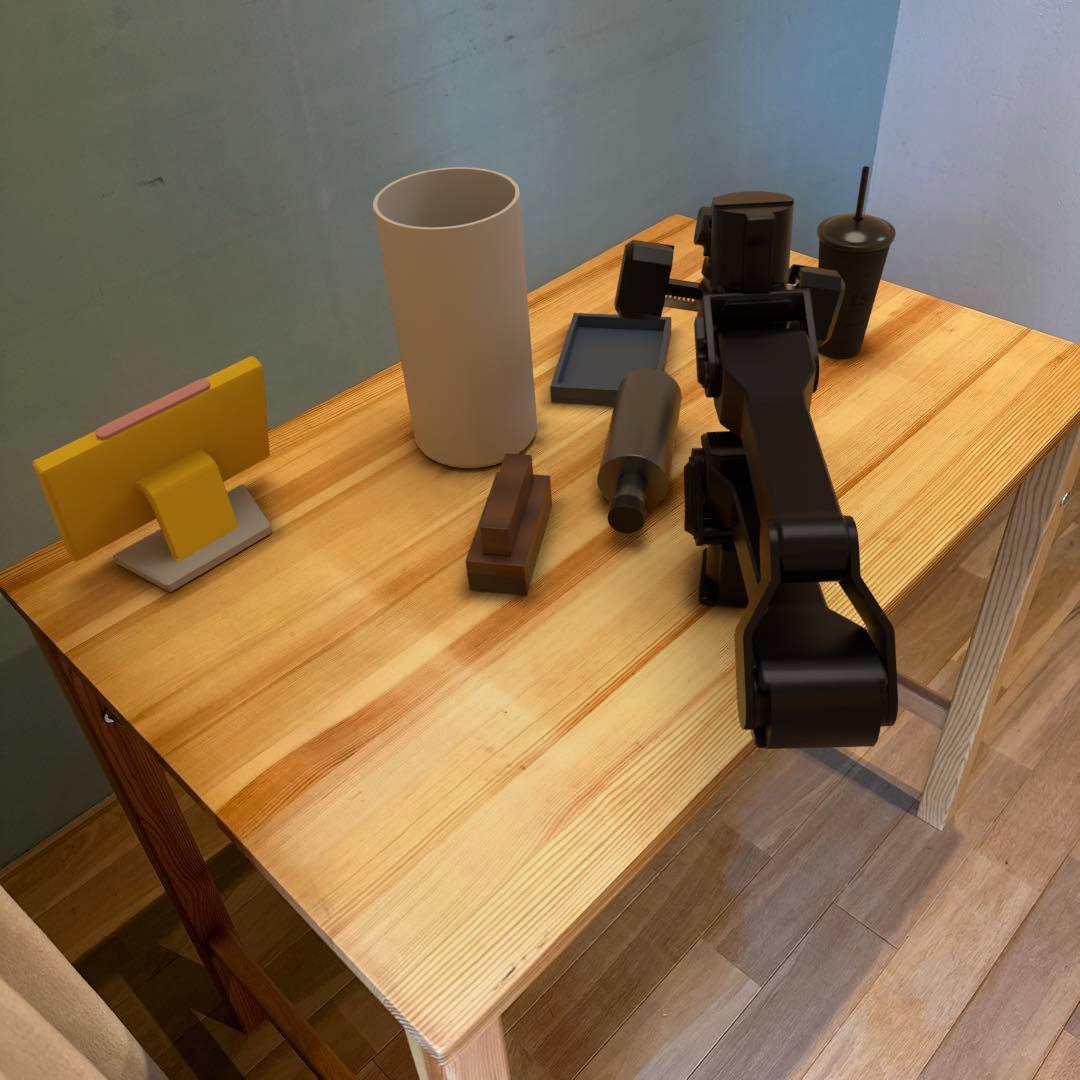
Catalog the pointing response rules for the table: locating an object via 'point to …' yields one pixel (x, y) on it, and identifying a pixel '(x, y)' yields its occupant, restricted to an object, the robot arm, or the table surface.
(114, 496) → the yellow framed monitor
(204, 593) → the table surface
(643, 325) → the tray
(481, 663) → the table surface
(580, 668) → the table surface
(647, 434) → the bottle
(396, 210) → the cylinder vase
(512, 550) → the scrub brush
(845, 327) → the drinking cup
